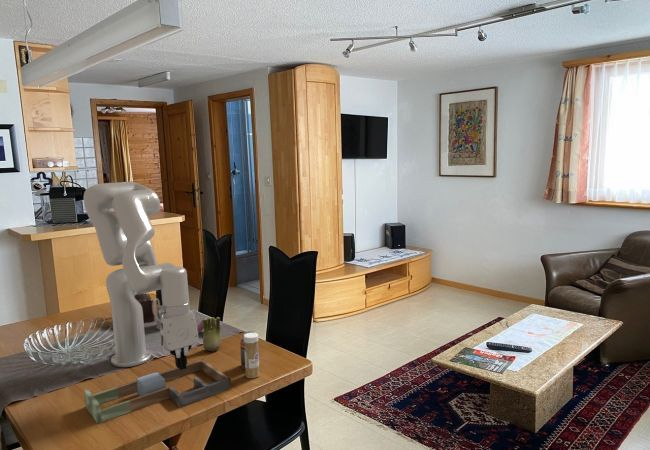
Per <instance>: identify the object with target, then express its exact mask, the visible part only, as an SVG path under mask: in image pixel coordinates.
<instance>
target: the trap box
mask: <svg viewBox="0 0 650 450" xmlns="http://www.w3.org/2000/svg"><path fill="white" fill-rule="evenodd" d="M199 371H203V372H204V373H205V374H206V375H208V376H209V377H211V378H212V379H213V381H211V382H208V383H206V382H204V381H203V380H201V379H200V378H199V377H197V376H195V377H193V388H192V389H188V390H186V391H182V392H181V393H180V392H179V391H178V390H177V389H175V388H174V386H172V385H169V386H165V388H163V389H160V390H157V391H154V392H151V393H148V394H145V395H142V396H139V395H138V396H137V397H133V398H131V399H128V400H125V401H122V402H120V403H117V404H113V405H111V406H108V407H104V408H102V409H101V404H104V403H108V402H110V401H113V400H116V399H120V398H123V397H126V396H128V395H131V394H134V393H138V390H137V379H136V380H134V381H130V382H127V383H123V384H122V385H118V386H115V387H111V388H109V389H106V390H102V391H99V392H96V393H94V394H92V392H91V391H90V390H89V388H88V389H85V390H83V393H84V404H85V405H84V406H85V409H87V412H89V414H90V415H91V416H92V418H93V419H94V420H95V422H96V423H97V424H101V423H104V422H107V421H109V420H112V419H114V418H118V417H120V416H123V415H125V414H129V413H132V412H134V411H137V410H139V409H143V408H145V407H148V406H151V405H154V404H156V403H159V402H161V401H165V400H167V399H168V400H169V399H170V400H172V402H173V403H175V404H176V405H177V406H178V407H179V408H182V407H185V406H188V405H191V404H193V403H195V402H198V401H201V400H204V399H207V398H209V397H211V396H214V395H217V394H219V393H222V392H225V391H227V390H230V389H232V379H231V377H230V376H227V375H226V374H225V373H224V372H222V371H221V370H219V369H218V368H216V367H214V366H213V365H212V364H210V362H207V361H206V360H204V359H199V360H195V361H193V362H189V363H187V365H186V369H183V370H180V369H179V368H177V367H174V368H170V369H168V370H165V371H162V372H158V373H159V374H160V375H161V376H162V377H163V378H164V379H165V383H167V382H170V381H172V380H173V381H174V380H176V379H180V378H182V377H184V376H187V375H190V374H193V373H197V372H199Z"/></svg>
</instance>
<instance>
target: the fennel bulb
mask: <svg viewBox="0 0 650 450" xmlns="http://www.w3.org/2000/svg"><path fill="white" fill-rule="evenodd" d="M210 318H211V321H210ZM215 319H216V325H215ZM202 320H203V325H204V329H203V334H202V335H203V337H202V344H203V345H202V346H203V348H204V349H205V351H207V352H216V351H218V350H219V349H220V348H221V345H222V333H221V332H222V331H221V329H220V323H221V317H219V316H217V317H216V318H215V317H214V316H213V317H208V319H206V318H203V319H202ZM207 320H208V324H207ZM211 323H212V327H211Z"/></svg>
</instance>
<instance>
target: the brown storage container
mask: <svg viewBox="0 0 650 450" xmlns="http://www.w3.org/2000/svg"><path fill="white" fill-rule="evenodd" d="M134 297H135V299H136V300H137V301H138V302H139V303H140V304H141V306H142V309H143V320H144V324H147V323H152V322H155V321H156V318H155V316H154V314H153V310H152V302H153V300H154V299H152V297H151V295H150V294H149V293H144V294H137V295H135V296H134Z"/></svg>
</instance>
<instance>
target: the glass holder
mask: <svg viewBox="0 0 650 450" xmlns="http://www.w3.org/2000/svg"><path fill="white" fill-rule="evenodd" d="M152 300H153V302H152V310H153V314H154V319H155V320H157V325H156V329H157V330H159V331H160V326H161V317H162V315H164V314H159V312H158V310H159V309H161V308H162V305H163V303H162V292H161V289H160V290H156V291H155V298H154V299H152ZM155 302H156V303H155ZM155 304H156V305H155ZM155 306H156V308H155ZM155 309H156V312H155Z"/></svg>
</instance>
